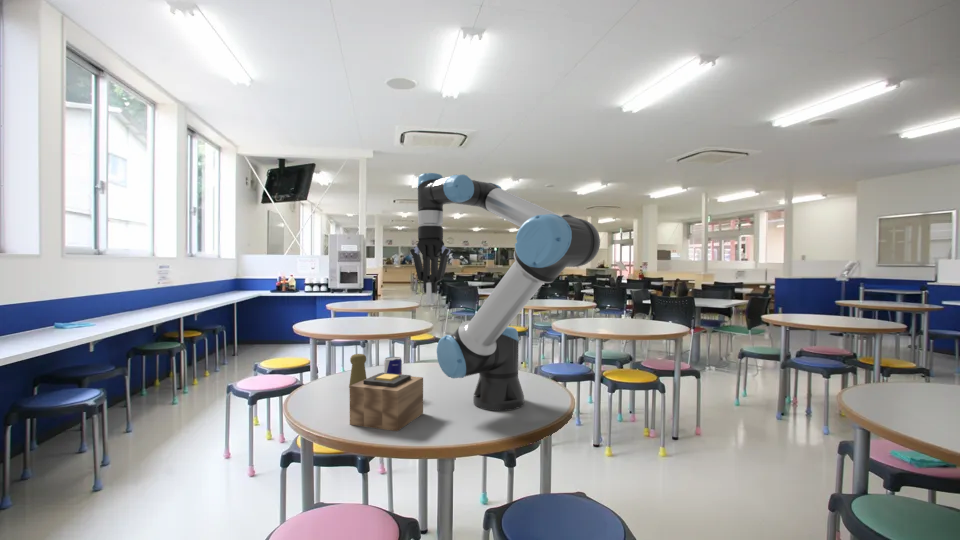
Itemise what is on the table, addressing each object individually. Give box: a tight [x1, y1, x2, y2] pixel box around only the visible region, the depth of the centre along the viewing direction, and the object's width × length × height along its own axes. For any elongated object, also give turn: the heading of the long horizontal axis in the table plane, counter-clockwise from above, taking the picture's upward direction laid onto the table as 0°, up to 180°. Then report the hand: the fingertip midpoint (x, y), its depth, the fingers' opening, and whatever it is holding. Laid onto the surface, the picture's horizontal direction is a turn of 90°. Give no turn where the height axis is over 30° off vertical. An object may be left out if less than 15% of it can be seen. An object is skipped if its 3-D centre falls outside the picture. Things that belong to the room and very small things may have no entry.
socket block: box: [349, 372, 424, 432], centre depth 118 cm, size 14×14×11 cm
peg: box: [376, 374, 399, 381], centre depth 118 cm, size 4×4×9 cm
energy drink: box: [383, 356, 403, 374], centre depth 138 cm, size 5×5×12 cm
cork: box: [348, 353, 368, 389], centre depth 149 cm, size 6×6×11 cm
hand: (430, 303), depth 133 cm, fingers closed
